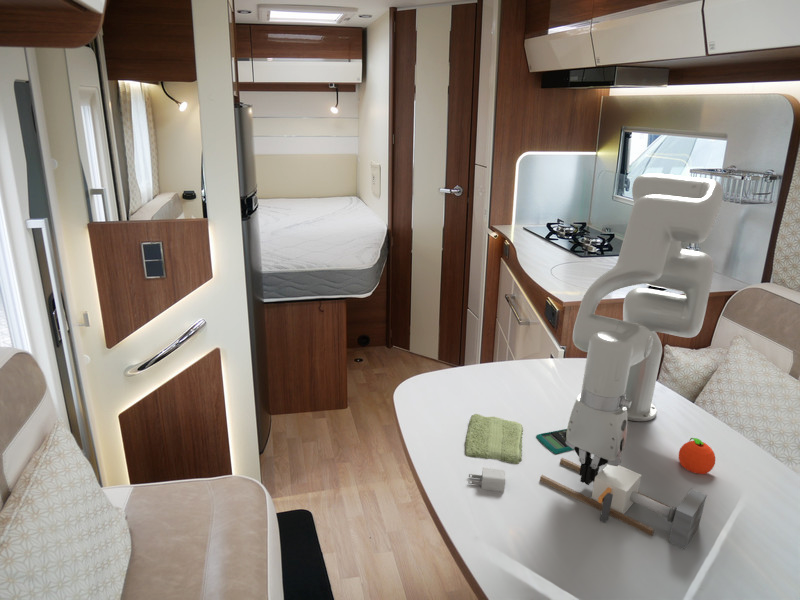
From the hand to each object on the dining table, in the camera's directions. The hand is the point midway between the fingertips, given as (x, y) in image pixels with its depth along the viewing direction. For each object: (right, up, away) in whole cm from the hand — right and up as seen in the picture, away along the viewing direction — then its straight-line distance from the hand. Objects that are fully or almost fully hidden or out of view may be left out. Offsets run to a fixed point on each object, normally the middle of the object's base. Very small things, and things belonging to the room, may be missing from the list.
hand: (587, 480), depth 115 cm
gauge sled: (+6, -4, -7) cm, 10 cm away
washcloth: (-16, +3, +17) cm, 23 cm away
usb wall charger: (-20, -2, +1) cm, 20 cm away
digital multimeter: (+2, +2, +17) cm, 18 cm away
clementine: (+25, -1, +10) cm, 27 cm away
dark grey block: (0, -5, -8) cm, 9 cm away
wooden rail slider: (+3, -4, -3) cm, 6 cm away
